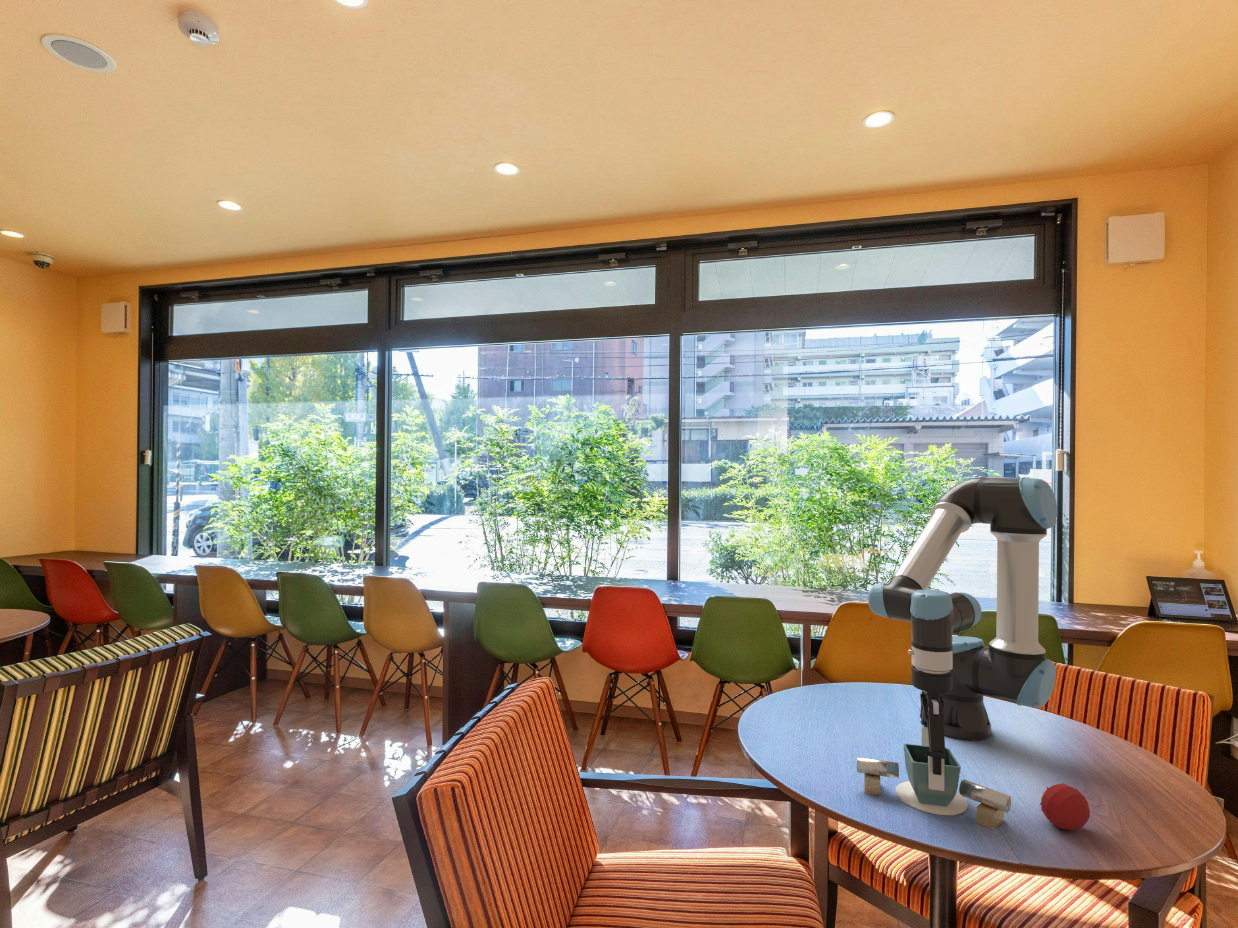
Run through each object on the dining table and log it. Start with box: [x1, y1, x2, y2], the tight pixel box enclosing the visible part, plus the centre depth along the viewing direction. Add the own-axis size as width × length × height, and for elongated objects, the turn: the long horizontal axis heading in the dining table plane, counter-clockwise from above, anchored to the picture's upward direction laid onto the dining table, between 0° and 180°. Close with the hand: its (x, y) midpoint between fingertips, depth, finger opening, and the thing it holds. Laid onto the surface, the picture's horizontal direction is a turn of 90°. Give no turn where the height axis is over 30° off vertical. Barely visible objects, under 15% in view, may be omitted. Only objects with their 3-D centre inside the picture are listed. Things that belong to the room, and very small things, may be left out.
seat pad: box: [895, 780, 969, 817], centre depth 129 cm, size 13×13×1 cm
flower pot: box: [902, 743, 962, 806], centre depth 128 cm, size 9×9×9 cm
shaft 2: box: [958, 779, 1012, 830], centre depth 121 cm, size 8×5×6 cm, turn 40°
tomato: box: [1039, 783, 1091, 831], centre depth 119 cm, size 8×8×8 cm
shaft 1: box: [856, 756, 900, 796], centre depth 132 cm, size 8×5×6 cm, turn 70°
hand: (932, 772), depth 129 cm, fingers open, 13 cm apart
